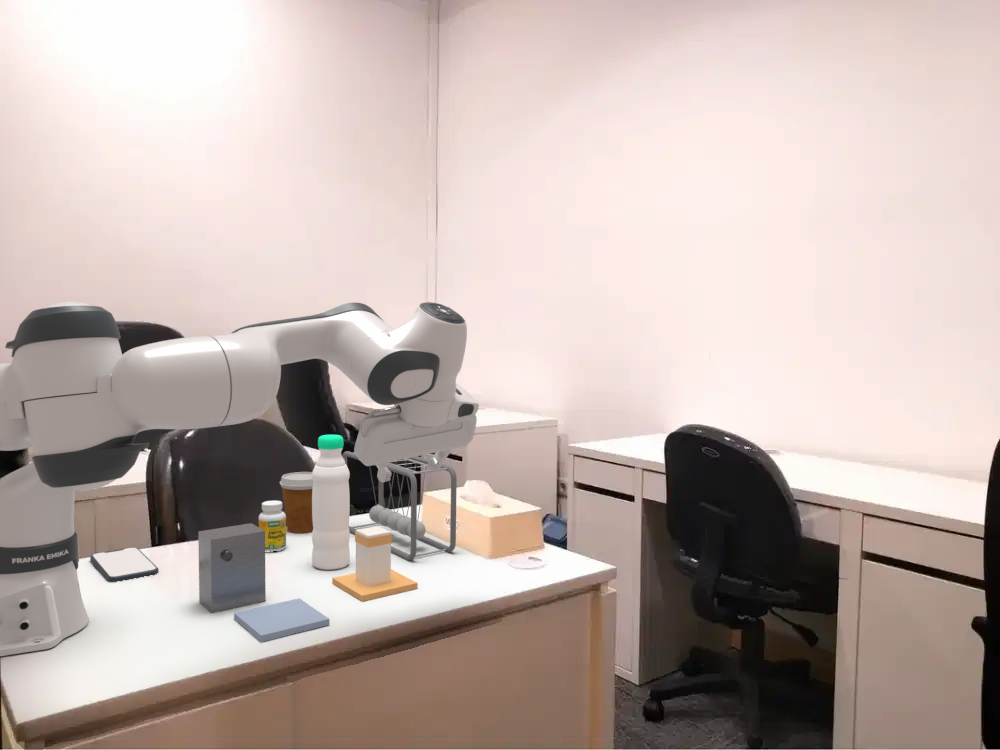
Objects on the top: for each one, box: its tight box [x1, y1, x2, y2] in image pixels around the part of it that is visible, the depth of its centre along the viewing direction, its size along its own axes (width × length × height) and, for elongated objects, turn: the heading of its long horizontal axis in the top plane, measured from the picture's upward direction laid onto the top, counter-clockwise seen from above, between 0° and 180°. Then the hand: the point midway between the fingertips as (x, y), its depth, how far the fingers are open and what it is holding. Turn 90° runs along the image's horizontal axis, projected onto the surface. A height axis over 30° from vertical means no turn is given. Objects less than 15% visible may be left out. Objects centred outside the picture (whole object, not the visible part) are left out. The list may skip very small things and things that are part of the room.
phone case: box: [89, 547, 159, 583], centre depth 154 cm, size 9×2×16 cm
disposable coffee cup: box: [279, 471, 313, 534], centre depth 180 cm, size 10×10×12 cm
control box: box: [197, 523, 267, 614], centre depth 136 cm, size 9×7×12 cm
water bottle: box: [311, 434, 351, 571], centre depth 156 cm, size 7×7×25 cm
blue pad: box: [233, 597, 330, 643], centre depth 128 cm, size 11×11×1 cm
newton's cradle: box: [341, 450, 458, 562], centre depth 173 cm, size 30×10×18 cm, turn 38°
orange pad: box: [331, 568, 419, 602], centre depth 145 cm, size 11×11×1 cm
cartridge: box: [354, 525, 393, 587], centre depth 145 cm, size 5×5×9 cm
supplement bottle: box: [258, 500, 287, 552], centre depth 166 cm, size 5×5×10 cm
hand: (409, 473), depth 133 cm, fingers open, 8 cm apart
